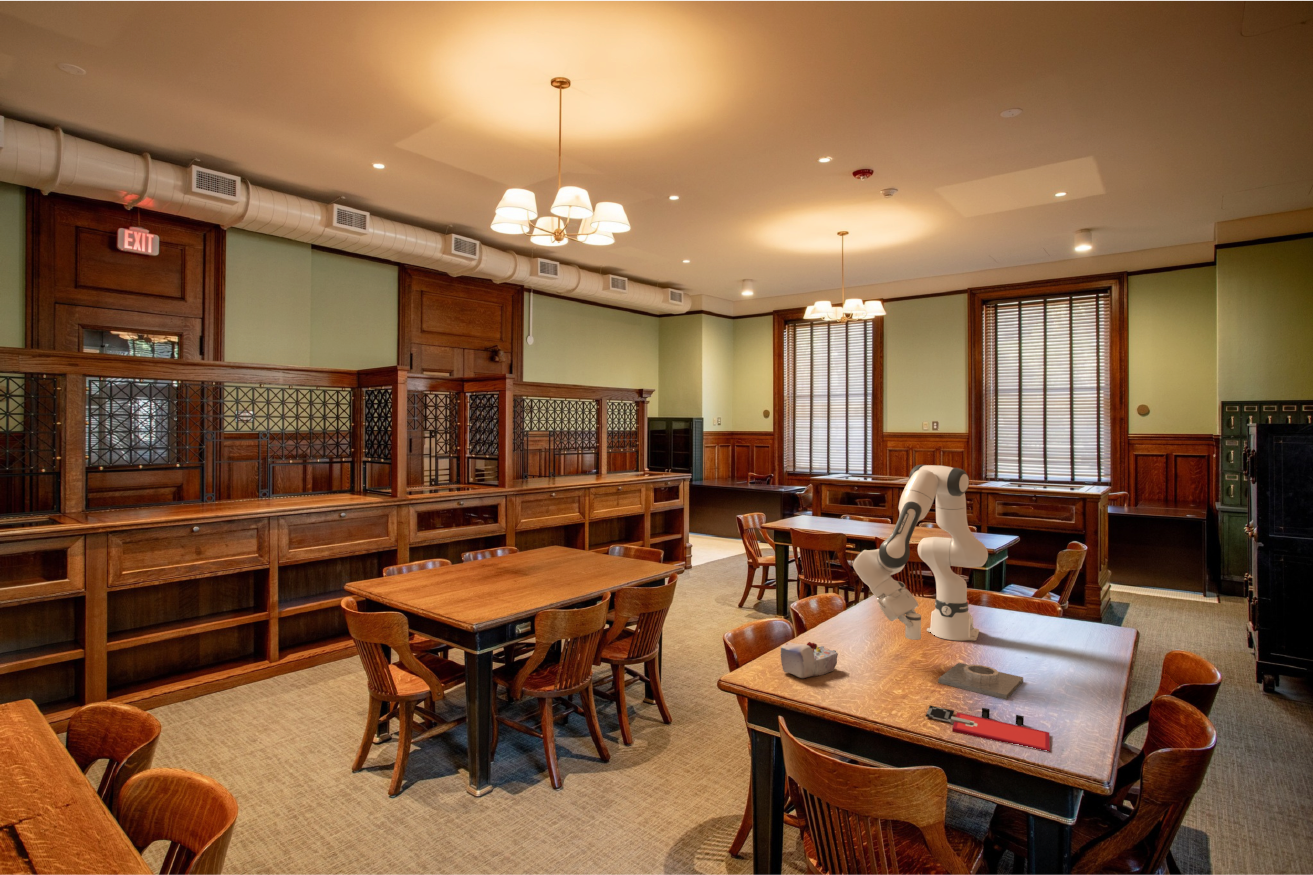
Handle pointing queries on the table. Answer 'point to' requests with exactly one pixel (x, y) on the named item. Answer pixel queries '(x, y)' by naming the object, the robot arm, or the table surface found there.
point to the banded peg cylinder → (915, 630)
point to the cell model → (807, 659)
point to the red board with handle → (992, 728)
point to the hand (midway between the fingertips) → (915, 624)
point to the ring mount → (981, 680)
